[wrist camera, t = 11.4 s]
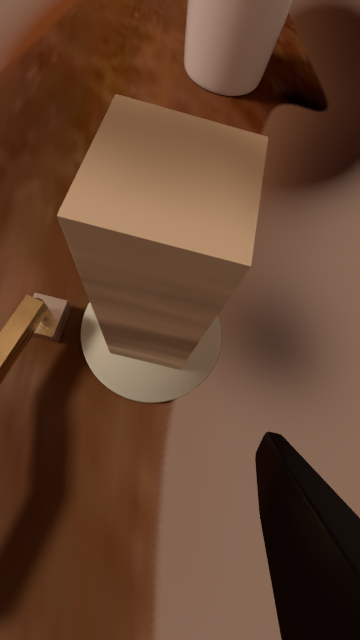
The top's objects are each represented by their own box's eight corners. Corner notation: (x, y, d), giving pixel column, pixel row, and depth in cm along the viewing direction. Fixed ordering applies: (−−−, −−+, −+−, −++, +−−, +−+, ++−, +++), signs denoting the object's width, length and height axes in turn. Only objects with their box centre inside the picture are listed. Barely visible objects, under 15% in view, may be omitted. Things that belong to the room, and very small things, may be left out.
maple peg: (180, 369, 17) (250, 266, 6) (109, 353, 17) (56, 215, 6) (193, 306, 19) (268, 137, 8) (129, 290, 19) (115, 94, 8)
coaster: (208, 418, 17) (209, 417, 17) (60, 383, 17) (58, 382, 16) (229, 289, 20) (230, 286, 20) (107, 257, 20) (106, 254, 20)
